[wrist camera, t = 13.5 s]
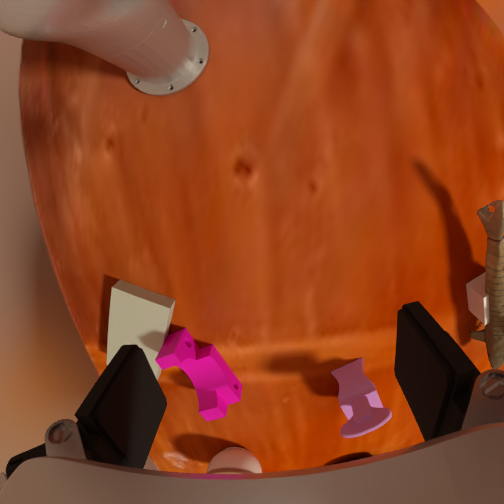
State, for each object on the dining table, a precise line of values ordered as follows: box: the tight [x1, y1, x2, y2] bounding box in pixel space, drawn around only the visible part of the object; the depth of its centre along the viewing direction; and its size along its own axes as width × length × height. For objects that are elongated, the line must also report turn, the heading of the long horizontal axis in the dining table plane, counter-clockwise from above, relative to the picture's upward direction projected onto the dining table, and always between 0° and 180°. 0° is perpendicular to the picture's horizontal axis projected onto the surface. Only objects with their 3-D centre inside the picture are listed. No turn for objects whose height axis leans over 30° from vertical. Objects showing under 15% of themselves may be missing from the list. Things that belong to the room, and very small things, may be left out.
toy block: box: [155, 328, 242, 421], centre depth 47 cm, size 15×6×8 cm, turn 28°
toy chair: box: [331, 357, 392, 438], centre depth 43 cm, size 8×9×15 cm
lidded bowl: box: [206, 447, 262, 474], centre depth 54 cm, size 13×13×11 cm
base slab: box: [107, 280, 175, 380], centre depth 48 cm, size 17×10×4 cm, turn 163°
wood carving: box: [466, 200, 504, 369], centre depth 38 cm, size 9×35×11 cm, turn 26°
